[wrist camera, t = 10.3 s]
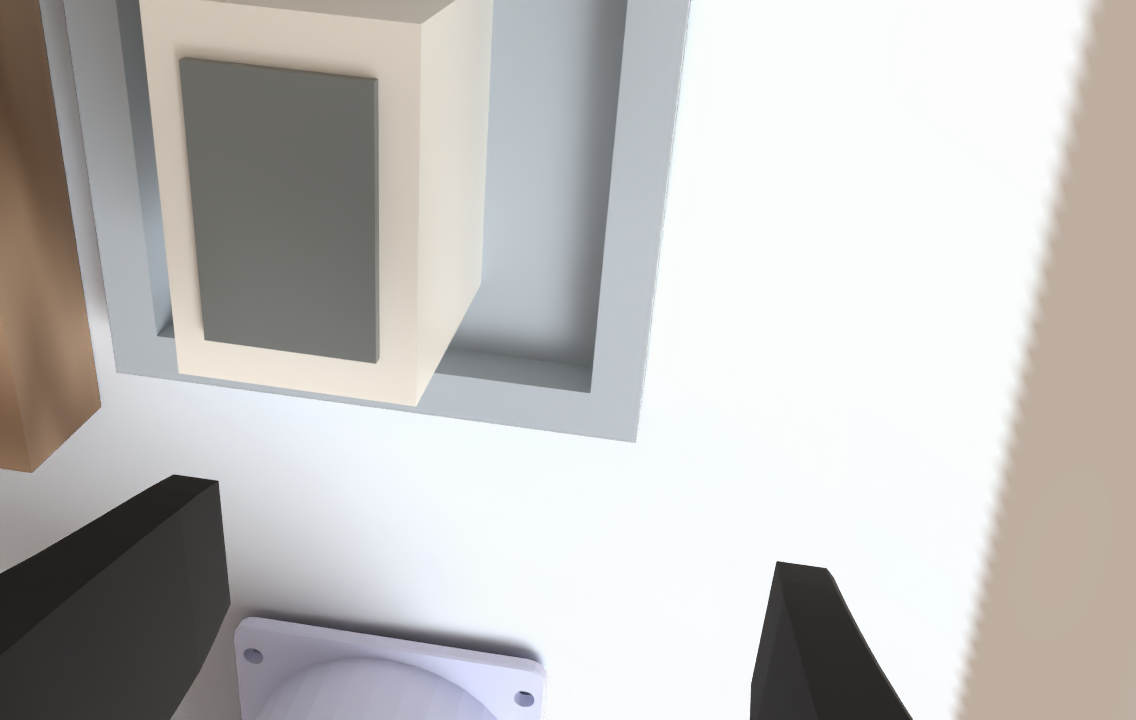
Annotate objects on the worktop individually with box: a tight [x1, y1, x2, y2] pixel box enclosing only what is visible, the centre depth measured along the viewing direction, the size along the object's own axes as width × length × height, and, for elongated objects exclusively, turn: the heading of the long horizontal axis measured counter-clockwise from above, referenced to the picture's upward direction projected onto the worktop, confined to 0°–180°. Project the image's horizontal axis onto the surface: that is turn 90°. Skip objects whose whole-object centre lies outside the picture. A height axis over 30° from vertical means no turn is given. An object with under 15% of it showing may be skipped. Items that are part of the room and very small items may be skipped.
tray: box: [63, 0, 691, 443], centre depth 20 cm, size 11×11×2 cm
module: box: [139, 0, 493, 407], centre depth 18 cm, size 6×4×5 cm, turn 175°
